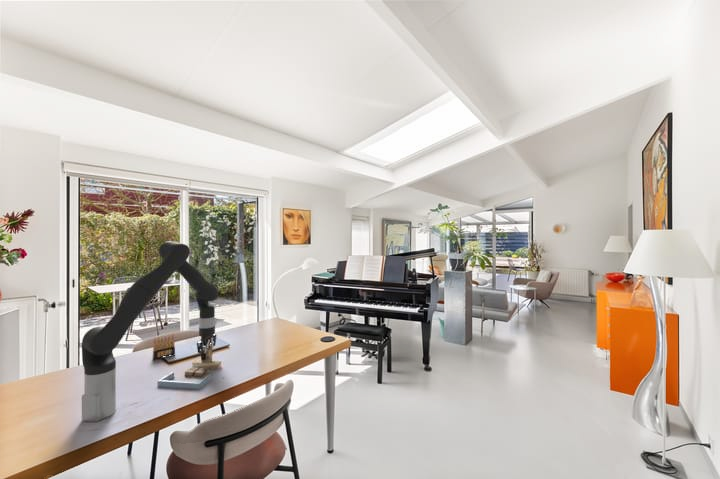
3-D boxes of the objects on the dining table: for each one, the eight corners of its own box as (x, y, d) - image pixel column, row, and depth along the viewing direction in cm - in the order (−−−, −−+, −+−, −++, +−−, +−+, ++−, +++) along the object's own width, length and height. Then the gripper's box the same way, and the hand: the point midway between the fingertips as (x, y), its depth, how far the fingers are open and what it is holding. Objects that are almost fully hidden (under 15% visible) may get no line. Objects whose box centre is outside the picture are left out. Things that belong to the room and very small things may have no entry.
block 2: (201, 378, 151) (201, 373, 151) (194, 377, 152) (194, 372, 152) (208, 373, 156) (208, 368, 156) (201, 372, 157) (201, 367, 157)
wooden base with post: (218, 369, 160) (218, 350, 160) (192, 368, 162) (192, 348, 162) (221, 367, 163) (221, 348, 163) (196, 365, 165) (196, 346, 165)
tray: (198, 389, 140) (199, 383, 140) (157, 386, 142) (157, 380, 142) (211, 379, 149) (211, 374, 149) (172, 376, 151) (172, 371, 151)
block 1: (192, 377, 152) (192, 372, 152) (184, 376, 152) (184, 371, 152) (199, 372, 157) (199, 367, 157) (191, 372, 157) (191, 367, 157)
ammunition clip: (153, 360, 170) (153, 338, 170) (152, 359, 171) (152, 337, 171) (175, 355, 178) (175, 334, 178) (174, 354, 179) (174, 333, 179)
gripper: (205, 330, 155) (205, 364, 155) (221, 322, 169) (221, 353, 169) (191, 329, 156) (191, 363, 156) (208, 321, 170) (208, 352, 170)
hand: (206, 357), depth 163 cm, fingers open, 5 cm apart
